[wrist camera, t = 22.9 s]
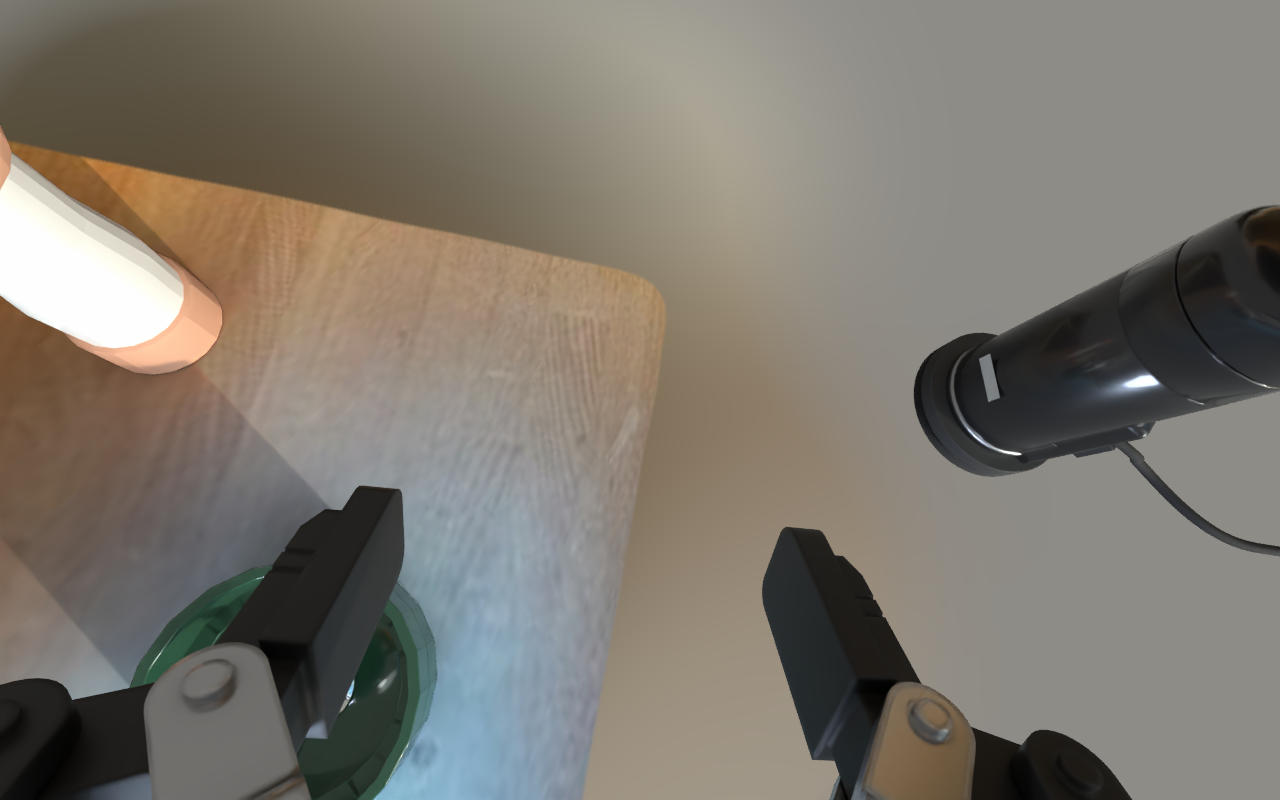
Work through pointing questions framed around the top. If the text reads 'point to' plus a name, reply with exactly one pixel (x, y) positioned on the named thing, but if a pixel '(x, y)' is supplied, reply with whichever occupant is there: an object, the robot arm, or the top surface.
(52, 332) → the top surface
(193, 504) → the top surface
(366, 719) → the green bowl
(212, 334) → the salt shaker
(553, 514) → the top surface
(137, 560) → the top surface
